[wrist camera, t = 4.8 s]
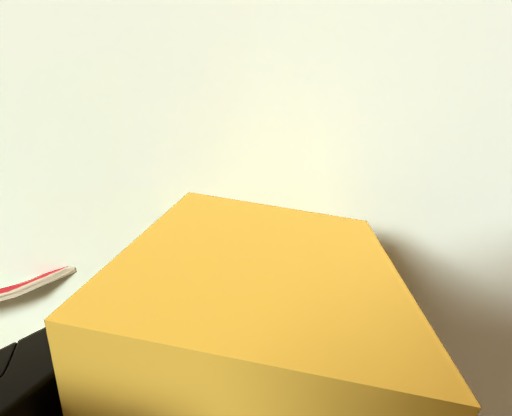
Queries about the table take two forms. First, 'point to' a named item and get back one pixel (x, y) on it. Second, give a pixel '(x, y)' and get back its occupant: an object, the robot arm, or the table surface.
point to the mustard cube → (251, 323)
